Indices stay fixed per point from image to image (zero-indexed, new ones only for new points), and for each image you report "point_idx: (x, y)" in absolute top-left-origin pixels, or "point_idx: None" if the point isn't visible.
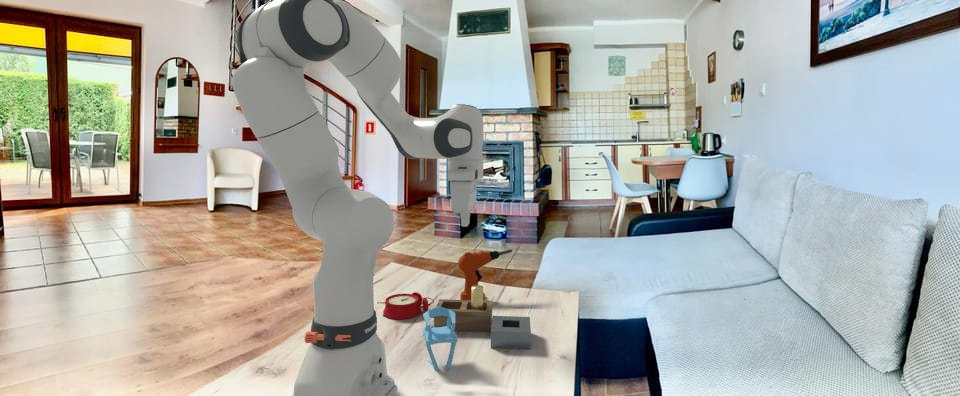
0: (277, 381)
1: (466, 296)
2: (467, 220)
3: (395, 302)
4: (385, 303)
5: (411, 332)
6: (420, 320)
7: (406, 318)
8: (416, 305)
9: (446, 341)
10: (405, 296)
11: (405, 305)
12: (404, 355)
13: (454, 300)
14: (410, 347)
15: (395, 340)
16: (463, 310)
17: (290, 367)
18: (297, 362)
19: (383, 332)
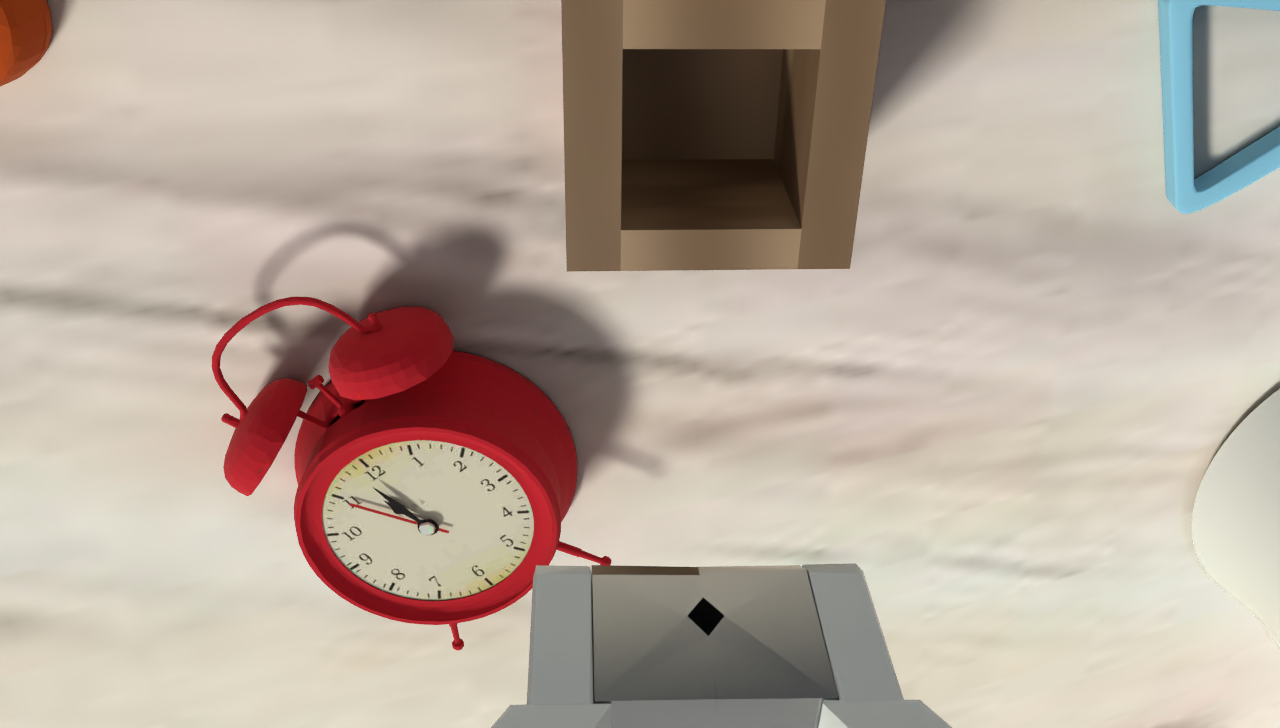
0: (1260, 714)
1: (25, 24)
2: (889, 691)
3: (476, 553)
4: (495, 603)
5: (782, 334)
6: (570, 320)
7: (560, 415)
8: (462, 409)
9: None
10: (330, 523)
11: (544, 481)
12: (1117, 301)
13: (588, 131)
14: (1012, 291)
15: (901, 396)
16: (855, 9)
17: (1145, 720)
18: (1102, 715)
19: (781, 486)
